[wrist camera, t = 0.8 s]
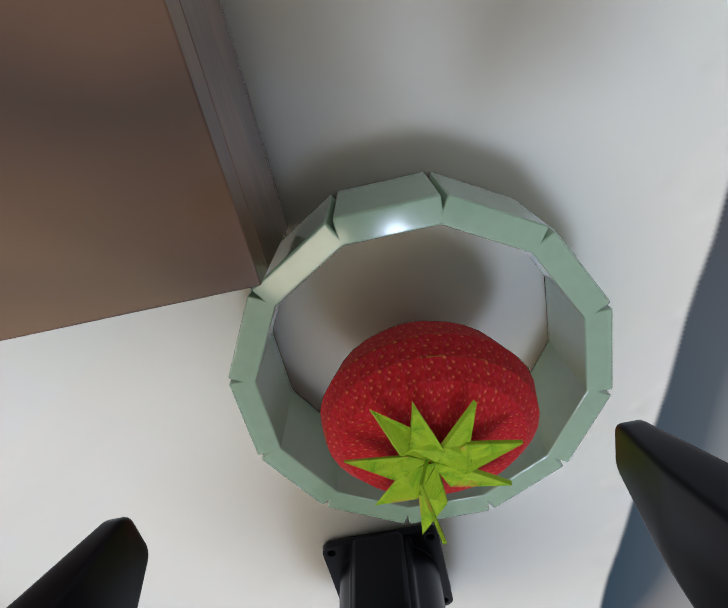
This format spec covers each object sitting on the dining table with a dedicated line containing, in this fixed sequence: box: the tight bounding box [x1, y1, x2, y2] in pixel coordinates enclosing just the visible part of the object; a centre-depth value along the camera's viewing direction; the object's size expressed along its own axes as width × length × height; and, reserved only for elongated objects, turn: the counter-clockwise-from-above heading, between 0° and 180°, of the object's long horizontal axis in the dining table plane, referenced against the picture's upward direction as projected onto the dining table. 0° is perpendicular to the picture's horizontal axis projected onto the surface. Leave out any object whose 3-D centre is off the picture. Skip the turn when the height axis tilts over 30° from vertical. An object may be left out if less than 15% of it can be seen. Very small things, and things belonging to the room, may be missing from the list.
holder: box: [229, 172, 612, 524], centre depth 20 cm, size 14×14×4 cm
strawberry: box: [320, 321, 540, 544], centre depth 17 cm, size 6×8×10 cm
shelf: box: [0, 0, 287, 341], centre depth 15 cm, size 12×14×6 cm
